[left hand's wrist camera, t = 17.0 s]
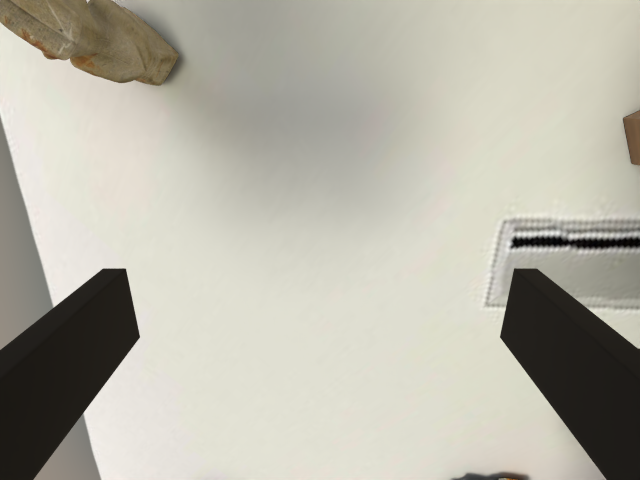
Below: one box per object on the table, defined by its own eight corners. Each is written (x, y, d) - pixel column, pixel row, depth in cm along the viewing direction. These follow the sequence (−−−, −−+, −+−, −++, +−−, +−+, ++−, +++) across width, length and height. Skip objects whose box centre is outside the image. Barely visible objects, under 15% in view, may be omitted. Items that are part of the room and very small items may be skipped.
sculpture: (131, -2, 36) (9, -66, 22) (194, 52, 37) (119, 25, 23) (101, 49, 37) (-30, 21, 23) (163, 99, 39) (76, 100, 25)
